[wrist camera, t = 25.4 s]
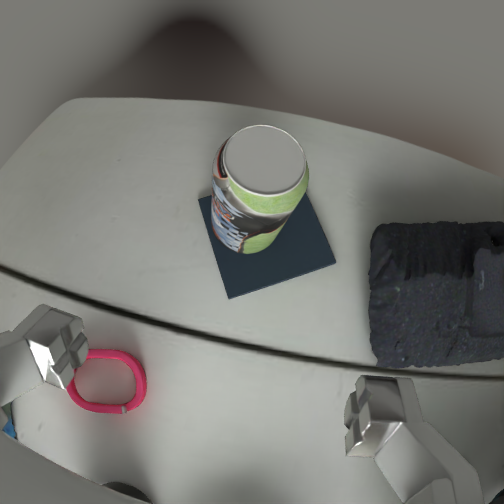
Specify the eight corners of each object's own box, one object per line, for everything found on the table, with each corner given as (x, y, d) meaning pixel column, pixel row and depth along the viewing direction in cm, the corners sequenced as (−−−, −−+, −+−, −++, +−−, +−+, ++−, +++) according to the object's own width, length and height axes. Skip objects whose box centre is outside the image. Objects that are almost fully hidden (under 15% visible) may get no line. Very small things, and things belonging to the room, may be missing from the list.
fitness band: (73, 408, 24) (65, 409, 23) (69, 348, 26) (61, 347, 25) (150, 413, 24) (145, 416, 23) (145, 349, 26) (139, 348, 25)
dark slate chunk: (358, 211, 30) (373, 187, 26) (514, 228, 30) (537, 212, 25) (362, 374, 25) (382, 376, 21) (528, 353, 25) (555, 349, 20)
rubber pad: (295, 172, 32) (295, 170, 31) (335, 263, 29) (336, 262, 28) (198, 201, 31) (197, 199, 30) (228, 299, 28) (228, 298, 27)
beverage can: (226, 189, 31) (211, 100, 19) (300, 210, 30) (323, 125, 19) (203, 248, 29) (171, 177, 17) (282, 272, 28) (300, 211, 17)
